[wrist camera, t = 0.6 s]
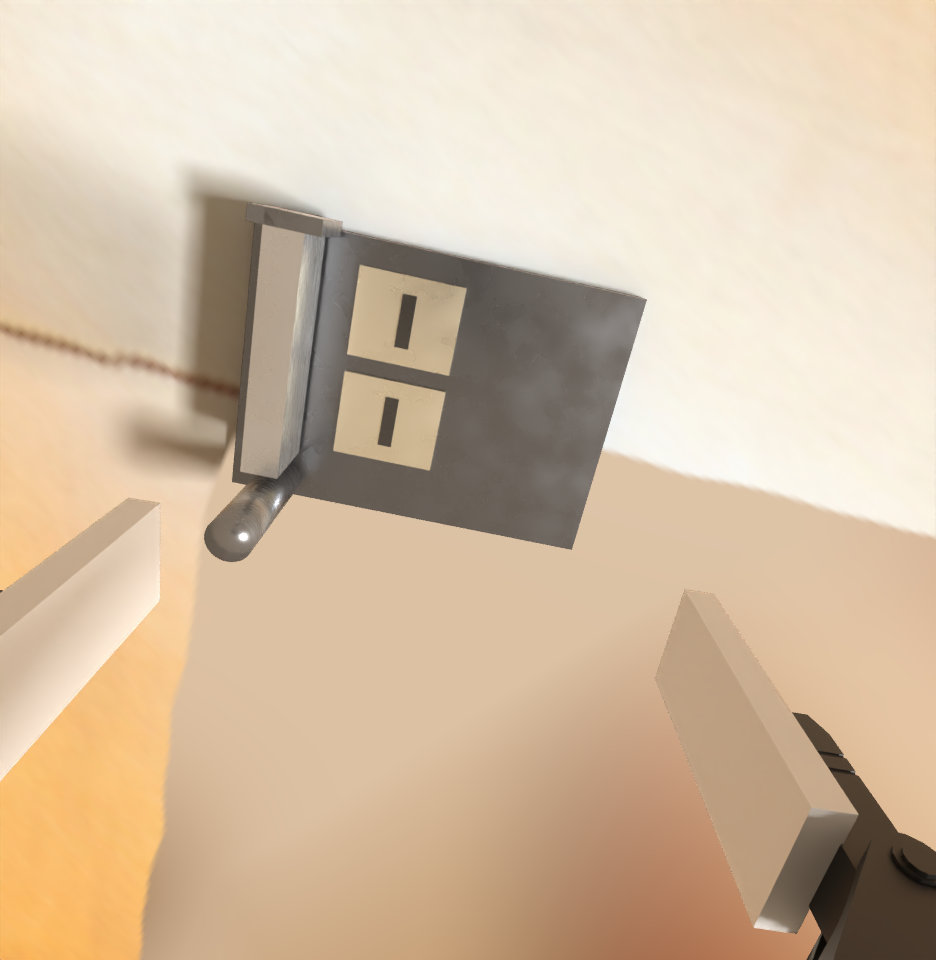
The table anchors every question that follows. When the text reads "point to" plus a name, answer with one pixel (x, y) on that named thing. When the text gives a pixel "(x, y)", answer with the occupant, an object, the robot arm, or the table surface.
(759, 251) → the table surface
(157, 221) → the table surface
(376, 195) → the table surface
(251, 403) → the brushed metal block
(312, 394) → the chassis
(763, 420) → the table surface
